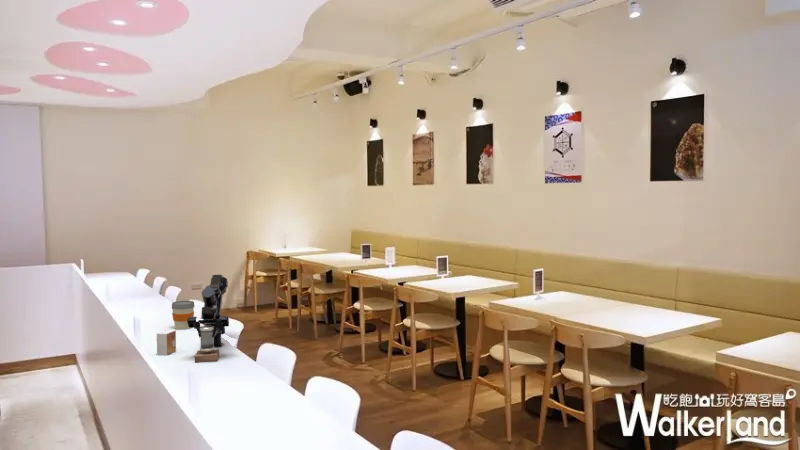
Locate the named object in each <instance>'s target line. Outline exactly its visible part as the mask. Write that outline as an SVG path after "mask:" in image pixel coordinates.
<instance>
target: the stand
mask: <svg viewBox="0 0 800 450" xmlns="http://www.w3.org/2000/svg"><path fill="white" fill-rule="evenodd" d="M219 358H220V349H215V350H213V351H209V352H202V351H200V349H199V350H197V351H196V353H195V355H194V363H209V362H210V363H211V362H213V363H214V362H218V360H219Z"/></svg>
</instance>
